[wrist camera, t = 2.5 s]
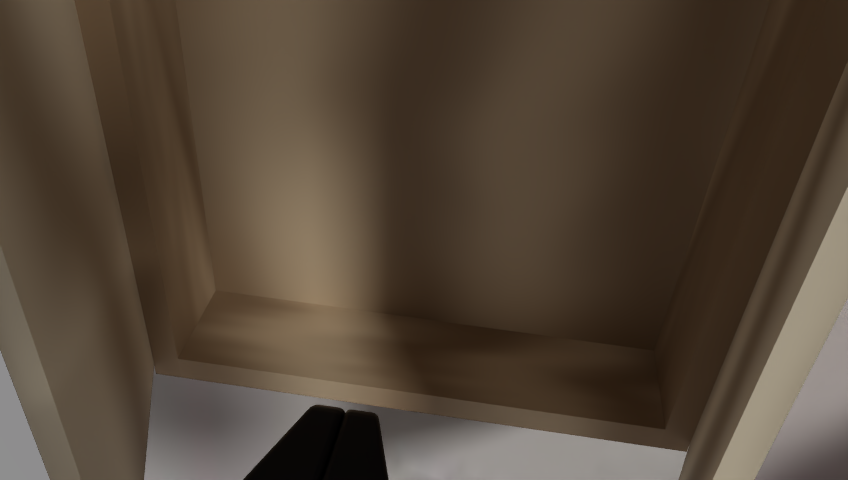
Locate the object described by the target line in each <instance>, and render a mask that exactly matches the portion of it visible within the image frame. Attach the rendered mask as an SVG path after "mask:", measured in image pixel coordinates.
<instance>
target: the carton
mask: <svg viewBox="0 0 848 480" xmlns="http://www.w3.org/2000/svg"><path fill="white" fill-rule="evenodd" d="M74 1H75V6H76V10H77V15H78V20H79V24H80V29H81V33H82V38H83V42H84V47H85V51H86V56H87V61H88V65H89V70H90V74H91V79H92V83H93V88H94V92H95V97H96V102H97V106H98V111H99V115H100V120H101V124H102V129H103V134H104V138H105V143H106V147H107V152H108V156H109V161H110V165H111V170H112V175H113V179H114V184H115V188H116V193H117V197H118V202H119V206H120V211H121V216H122V220H123V225H124V229H125V234H126V238H127V243H128V248H129V252H130V257H131V261H132V266H133V270H134V275H135V279H136V284H137V289H138V293H139V298H140V302H141V307H142V311H143V316H144V321H145V325H146V330H147V334H148V339H149V343H150V348H151V352H152V357H153V362H154V366H155V371H156V374H162V375H169V376H176V377H182V378H189V379H196V380H203V381H210V382H216V383H223V384H230V385H237V386H244V387H250V388H257V389H264V390H271V391H278V392H284V393H291V394H298V395H305V396H312V397H318V398H325V399H332V400H339V401H346V402H352V403H359V404H366V405H373V406H380V407H386V408H393V409H400V410H407V411H414V412H420V413H427V414H434V415H441V416H447V417H454V418H461V419H468V420H475V421H481V422H488V423H495V424H502V425H509V426H515V427H522V428H529V429H536V430H543V431H549V432H556V433H563V434H570V435H577V436H583V437H590V438H597V439H604V440H611V441H617V442H624V443H631V444H638V445H645V446H651V447H658V448H665V449H672V450H679V451H685V452H687V449H688V447H689V445H690V442H691V440H692V437H693V435H694V432H695V430H696V428H697V425H698V423H699V420H700V418H701V415H702V413H703V411H704V408H705V406H706V403H707V401H708V398H709V396H710V394H711V391H712V389H713V386H714V384H715V381H716V379H717V377H718V374H719V372H720V369H721V367H722V365H723V362H724V360H725V357H726V355H727V352H728V350H729V348H730V345H731V343H732V340H733V338H734V335H735V333H736V331H737V328H738V326H739V323H740V321H741V318H742V316H743V314H744V311H745V309H746V306H747V304H748V302H749V299H750V297H751V294H752V292H753V289H754V287H755V285H756V282H757V280H758V277H759V275H760V272H761V270H762V268H763V265H764V263H765V260H766V258H767V255H768V253H769V251H770V248H771V246H772V243H773V241H774V238H775V236H776V234H777V231H778V229H779V226H780V224H781V222H782V219H783V217H784V214H785V212H786V209H787V207H788V205H789V202H790V200H791V197H792V195H793V192H794V190H795V188H796V185H797V183H798V180H799V178H800V175H801V173H802V171H803V168H804V166H805V163H806V161H807V159H808V156H809V154H810V151H811V149H812V146H813V144H814V142H815V139H816V137H817V134H818V132H819V129H820V127H821V125H822V122H823V120H824V117H825V115H826V112H827V110H828V108H829V105H830V103H831V100H832V98H833V95H834V93H835V91H836V88H837V86H838V83H839V81H840V79H841V76H842V74H843V71H844V69H845V66H846V64H847V62H848V0H74Z"/></svg>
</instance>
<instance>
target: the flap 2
mask: <svg viewBox="0 0 848 480" xmlns="http://www.w3.org/2000/svg"><path fill="white" fill-rule="evenodd" d="M847 298H848V62H847V64H846V66H845V69H844V71H843V74H842V76H841V79H840V81H839V83H838V86H837V88H836V91H835V93H834V95H833V98H832V100H831V103H830V105H829V108H828V110H827V112H826V115H825V117H824V120H823V122H822V125H821V127H820V129H819V132H818V134H817V137H816V139H815V142H814V144H813V146H812V149H811V151H810V154H809V156H808V159H807V161H806V163H805V166H804V168H803V171H802V173H801V175H800V178H799V180H798V183H797V185H796V188H795V190H794V192H793V195H792V197H791V200H790V202H789V205H788V207H787V209H786V212H785V214H784V217H783V219H782V222H781V224H780V226H779V229H778V231H777V234H776V236H775V238H774V241H773V243H772V246H771V248H770V251H769V253H768V255H767V258H766V260H765V263H764V265H763V268H762V270H761V272H760V275H759V277H758V280H757V282H756V285H755V287H754V289H753V292H752V294H751V297H750V299H749V302H748V304H747V306H746V309H745V311H744V314H743V316H742V318H741V321H740V323H739V326H738V328H737V331H736V333H735V335H734V338H733V340H732V343H731V345H730V348H729V350H728V352H727V355H726V357H725V360H724V362H723V365H722V367H721V369H720V372H719V374H718V377H717V379H716V381H715V384H714V386H713V389H712V391H711V394H710V396H709V398H708V401H707V403H706V406H705V408H704V411H703V413H702V415H701V418H700V420H699V423H698V425H697V428H696V430H695V432H694V435H693V437H692V440H691V442H690V445H689V448H688V451H687V455H686V458H685V461H684V464H683V468H682V471H681V474H680V477H679V480H754V479H755V477H756V475H757V473H758V471H759V469H760V468H761V466H762V464H763V462H764V460H765V458H766V456H767V454H768V452H769V450H770V448H771V446H772V444H773V442H774V440H775V438H776V436H777V434H778V433H779V431H780V429H781V427H782V425H783V423H784V421H785V419H786V417H787V415H788V413H789V411H790V409H791V407H792V405H793V403H794V401H795V399H796V397H797V396H798V394H799V392H800V390H801V388H802V386H803V384H804V382H805V380H806V378H807V376H808V374H809V372H810V370H811V368H812V366H813V364H814V362H815V360H816V359H817V357H818V355H819V353H820V351H821V349H822V347H823V345H824V343H825V341H826V339H827V337H828V335H829V333H830V331H831V329H832V327H833V325H834V323H835V322H836V320H837V318H838V316H839V314H840V312H841V310H842V308H843V306H844V304H845V302H846V300H847Z"/></svg>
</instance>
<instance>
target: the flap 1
mask: <svg viewBox="0 0 848 480" xmlns="http://www.w3.org/2000/svg"><path fill="white" fill-rule="evenodd" d="M0 351H1V353H2V356H3V358H4V361H5V363H6V366H7V369H8V371H9V374H10V377H11V379H12V382H13V384H14V387H15V389H16V392H17V395H18V398H19V400H20V403H21V405H22V408H23V411H24V413H25V416H26V418H27V421H28V424H29V426H30V429H31V431H32V434H33V436H34V439H35V442H36V444H37V447H38V450H39V452H40V455H41V457H42V460H43V463H44V465H45V468H46V470H47V473H48V476H49V478H50V480H144V473H145V461H146V450H147V439H148V428H149V417H150V405H151V394H152V383H153V372H154V362H153V357H152V352H151V348H150V343H149V339H148V334H147V330H146V325H145V321H144V316H143V311H142V307H141V302H140V298H139V293H138V289H137V284H136V279H135V275H134V270H133V266H132V261H131V257H130V252H129V248H128V243H127V238H126V234H125V229H124V225H123V220H122V216H121V211H120V206H119V202H118V197H117V193H116V188H115V184H114V179H113V175H112V170H111V165H110V161H109V156H108V152H107V147H106V143H105V138H104V134H103V129H102V124H101V120H100V115H99V111H98V106H97V102H96V97H95V92H94V88H93V83H92V79H91V74H90V70H89V65H88V61H87V56H86V51H85V47H84V42H83V38H82V33H81V29H80V24H79V20H78V15H77V10H76V6H75V1H74V0H0Z"/></svg>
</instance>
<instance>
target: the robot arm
mask: <svg viewBox="0 0 848 480" xmlns="http://www.w3.org/2000/svg"><path fill="white" fill-rule="evenodd" d="M243 480H388V474H387V467H386V461H385V455H384V448H383V442H382V436H381V429H380V423H379V418H378V416H377V415H376V414H375V413H372V412H365V411H358V410H348V411H347V412H346V413H345V411H344V410H343V409H341V408H338V407H331V406H324V405H314V406H312V407H310V408H309V409H308V410H307V411H306V412H305V413H304V415H303V416H302V417H301V418H300V419H299V420H298V421H297V422H296V423H295V424H294V425H293V426H292V427H291V429H290V430H289V431H288V432H287V433H286V434H285V435H284V436H283V437H282V438H281V439H280V440H279V442H278V443H277V444H276V445H275V446H274V447H273V448H272V449H271V450H270V451H269V452H268V453H267V454H266V456H265V457H264V458H263V459H262V460H261V461H260V462H259V463H258V464H257V465H256V466H255V467H254V468H253V470H252V471H251V472H250V473H249V474H248V475H247V476H246V477H245V478H244V479H243Z"/></svg>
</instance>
